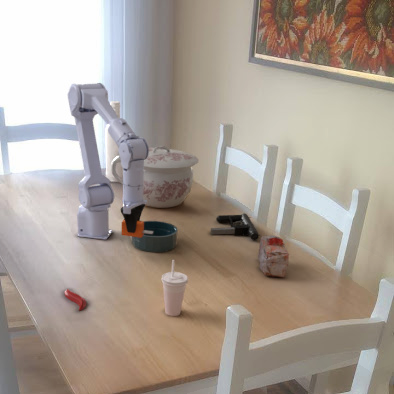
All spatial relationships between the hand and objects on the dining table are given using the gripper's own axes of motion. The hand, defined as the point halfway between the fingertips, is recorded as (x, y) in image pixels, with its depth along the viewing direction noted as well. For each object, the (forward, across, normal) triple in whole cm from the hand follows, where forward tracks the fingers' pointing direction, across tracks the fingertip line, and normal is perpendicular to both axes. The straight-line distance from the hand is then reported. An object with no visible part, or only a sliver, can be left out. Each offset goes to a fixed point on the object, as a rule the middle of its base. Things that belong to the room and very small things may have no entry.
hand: (132, 230), depth 167 cm
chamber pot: (+8, +52, +3) cm, 53 cm away
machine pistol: (+8, +31, -27) cm, 42 cm away
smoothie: (+8, -32, -18) cm, 38 cm away
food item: (+8, +2, -41) cm, 42 cm away
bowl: (+8, +11, -4) cm, 14 cm away
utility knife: (+1, 0, -2) cm, 2 cm away
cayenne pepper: (+8, -32, +7) cm, 34 cm away
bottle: (+8, +75, +26) cm, 80 cm away
